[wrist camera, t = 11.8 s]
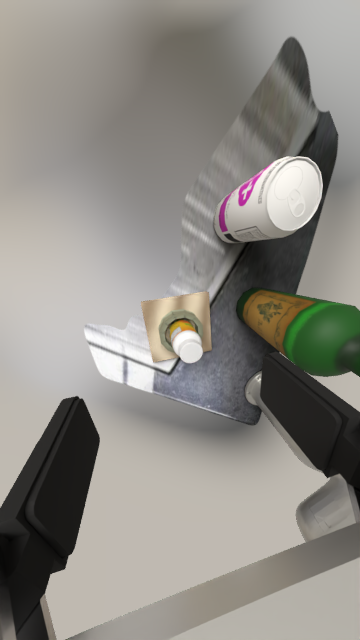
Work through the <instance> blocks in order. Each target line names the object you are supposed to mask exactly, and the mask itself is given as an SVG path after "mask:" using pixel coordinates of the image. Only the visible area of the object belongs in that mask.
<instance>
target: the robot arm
mask: <svg viewBox="0 0 360 640" xmlns="http://www.w3.org/2000/svg"><path fill="white" fill-rule="evenodd" d="M245 397H246V398H247V400H248V401H249V402H250V403H251V404H254V405H258V406H259V407H260V408H261V410H262V411H263V412H264V414H265V415H266V416H267V418H268V419H269V420H270V422H271V423H272V424H273V426H274V427H275V428H276V430H277V431H278V432H279V434H280V435H281V436H282V438H283V439H284V440H285V442H286V443H287V444H288V446H289V447H290V448H291V450H292V451H293V452H294V454H295V455H296V456H297V457H298V459H299V460H300V461H301V462H303V463H304V464H305V465H307V466H308V467H310V468H312V469H315V470H317V471H319V472H322V473H324V474H325V476H326V477H327V478H329V477H330V480H329V481H328V482H327V483H326V484H325V485H324V486H322V487H321V488H320V489H318V490H317V491H316V492H314V493H313V494H312V495H310V496H309V497H307V498H306V499H305V500H304V501H303V502H301V503H300V505H299V506H298V508H297V510H296V520H297V524H298V526H299V529H300V531H301V534H302V536H303V538H304V540H305V541H306V543H303V544H301V545H298V546H296V547H293V548H290V549H288V550H285V551H283V552H280V553H278V554H275V555H273V556H270V557H268V558H265V559H263V560H260V561H258V562H255V563H252V564H250V565H248V566H245V567H243V568H240V569H238V570H235V571H232V572H230V573H227V574H225V575H222V576H220V577H218V578H215V579H213V580H210V581H207V582H205V583H202V584H200V585H197V586H195V587H192V588H190V589H187V590H185V591H182V592H180V593H178V594H175V595H172V596H170V597H167V598H165V599H162V600H160V601H158V602H155V603H153V604H150V605H148V606H145V607H143V608H140V609H138V610H135V611H133V612H130V613H128V614H125V615H123V616H120V617H118V618H115V619H113V620H111V621H108V622H106V623H103V624H101V625H98V626H96V627H94V628H91V629H89V630H87V631H84V632H82V633H80V634H78V635H75V636H73V637H70V638H68V639H66V640H360V412H359V411H357V410H356V409H355V408H353V407H352V406H351V405H349V404H348V403H346V402H345V401H344V400H343V399H341V398H340V397H338V396H337V395H336V394H334V393H333V392H332V391H330V390H329V389H328V388H326V387H325V386H323V385H322V384H321V383H319V382H318V381H317V380H315V379H314V378H313V377H311V376H310V375H308V374H307V373H306V372H304V371H303V370H302V369H300V368H299V367H298V366H296V365H295V364H294V363H292V362H291V361H290V360H288V359H287V358H285V357H284V356H282V355H281V354H280V353H278V352H274V353H269V354H266V355H265V357H264V358H263V364H262V371H260V372H258V373H256V374H255V375H254V376H253V377H252V378H251V379H250V380H249V381H248V383H247V384H246V387H245ZM99 442H100V438H99V434H98V432H97V430H96V428H95V425H94V423H93V421H92V418H91V416H90V414H89V412H88V409H87V407H86V405H85V402H84V400H83V399H79V397H78V396H76V397H71V398H66V399H63V400H62V401H61V403H60V405H59V406H58V408H57V410H56V412H55V413H54V415H53V417H52V419H51V421H50V422H49V424H48V426H47V428H46V429H45V431H44V433H43V435H42V437H41V438H40V440H39V441H38V443H37V444H36V446H35V448H34V450H33V451H32V453H31V455H30V457H29V459H28V460H27V462H26V464H25V466H24V467H23V469H22V471H21V473H20V474H19V476H18V478H17V480H16V482H15V483H14V485H13V487H12V489H11V490H10V492H9V494H8V496H7V497H6V499H5V501H4V503H3V504H2V506H1V508H0V640H56V636H55V632H54V628H53V625H52V620H51V616H50V612H49V609H48V605H47V601H46V597H45V591H46V587H47V584H48V581H49V577H50V574H52V573H55V572H58V571H61V570H64V569H65V568H66V564H67V559H68V556H69V555H70V554H72V552H73V550H74V548H75V544H76V540H77V536H78V532H79V528H80V524H81V519H82V515H83V511H84V507H85V502H86V498H87V494H88V489H89V486H90V481H91V477H92V472H93V469H94V464H95V460H96V456H97V452H98V448H99Z"/></svg>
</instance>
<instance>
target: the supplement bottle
mask: <svg viewBox="0 0 360 640" xmlns="http://www.w3.org/2000/svg"><path fill="white" fill-rule="evenodd" d="M169 336H170V339H171V343H172V346H173V349H174V351H175V353H176V354H177V355H178V356H180V358H181V359H182V360H183V361H184V362H186V363H194V362H196V361H198V360H199V359H200V358H201V356H202V353H203V349H202V347H201V346H202V341H201V338H200V336H199V335H198V333H197V332H196V330H195V329H194V327H193V326H192V324H191V323H190V322H189V321H188V320H186V319H177V320H175V321H174V322H172V323H171V325H170V327H169Z"/></svg>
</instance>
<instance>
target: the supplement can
mask: <svg viewBox="0 0 360 640" xmlns="http://www.w3.org/2000/svg"><path fill="white" fill-rule="evenodd" d="M322 187H323V184H322V177H321V172H320V171H319V169H318V167H317V165H316V163H314V162H313V161H312V160H310V159H309V158H307V157H288V156H287V157H284V158H282V159H279V160H276V161H275V162H273V163H272V164H270V165H269V166H268V167H266V168H265V169H263V170H262V171H261V172H259V173H258V174H256V175H255V176H254V177H252V178H251V179H249V180H248V181H247V182H245V183H244V184H242V185H241V186H239V187H238V188H237V189H235V190H234V191H232V192H231V193H230V194H228V195H227V196H225V197H224V198H223V199H222V200H221V201H220V202H219V204H218V206H217V208H216V210H215V214H214V228H215V230H216V233H217V235H218V236H219V237H220V238H221V239H222V240H223V241H225V242H227V243H241V242H249V241H257V240H266V239H274V238H282V237H285V236H288V235H290V234H293V233H294V232H295V231H296V230H297V229H299V228H300V227H302V226H303V225H304V224H306V223H307V222H308V221H309V220H310V219H311V217H312V216H313V214H314V213H315V212H316V210H317V208H318V205H319V202H320V200H321V195H322Z"/></svg>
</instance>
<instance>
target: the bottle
mask: <svg viewBox="0 0 360 640" xmlns="http://www.w3.org/2000/svg"><path fill="white" fill-rule="evenodd" d="M236 311H237V314H238V316H239V319H241V320H242V321H243V322H244V323H245V324H247V325H248V326H249V327H250V328H252V329H253V330H254V331H255V332H256V333H258V334H259V335H260V336H261V337H262V338H264V339H265V340H266V341H267V342H269V343H270V344H271V345H272V346H273V347H275V348H276V349H277V350H278V351H279V352H281V353H282V354H283V355H284V356H286V357H287V358H288V359H289V360H290V361H292V362H293V363H294V364H295V365H296V366H298V367H299V368H300V369H302V370H303V371H305V372H307V373H309V374H310V375H315V376H323V377H328V376H337V375H342V374H345V373H347V372H350V371H352V372H353V373H355V374H356V375H358V376H359V377H360V311H359V310H358V309H357V308H356V307H355V306H351V305H346V304H341V303H336V302H331V301H326V300H320V299H316V298H310V297H306V296H300V295H295V294H290V293H285V292H280V291H275V290H270V289H265V288H251V289H249V290H248V291H246V292H244V293H243V294H242V296H241V297H240V299H239V300H238V302H237V309H236Z"/></svg>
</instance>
